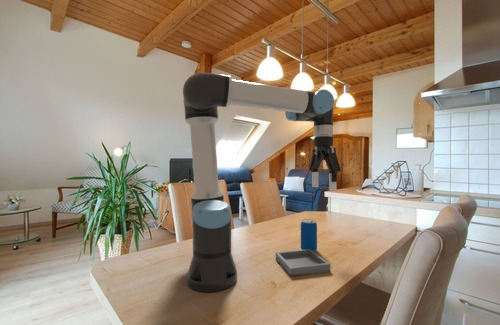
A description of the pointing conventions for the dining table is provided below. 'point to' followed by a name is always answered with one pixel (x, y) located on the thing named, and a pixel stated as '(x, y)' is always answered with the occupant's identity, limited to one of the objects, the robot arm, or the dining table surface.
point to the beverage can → (309, 234)
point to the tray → (302, 262)
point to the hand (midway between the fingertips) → (323, 188)
